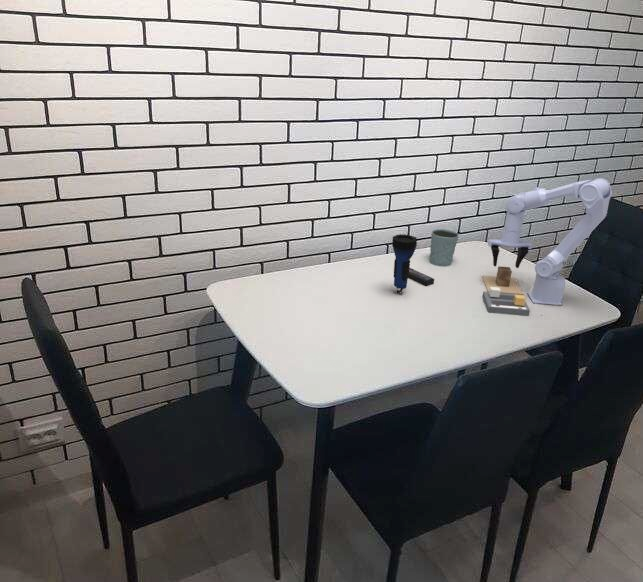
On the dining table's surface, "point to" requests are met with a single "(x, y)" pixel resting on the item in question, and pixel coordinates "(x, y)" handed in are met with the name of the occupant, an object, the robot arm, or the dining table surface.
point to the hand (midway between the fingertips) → (505, 266)
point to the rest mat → (491, 282)
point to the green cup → (442, 247)
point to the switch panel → (504, 304)
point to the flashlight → (402, 258)
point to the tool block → (503, 276)
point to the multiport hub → (420, 278)
